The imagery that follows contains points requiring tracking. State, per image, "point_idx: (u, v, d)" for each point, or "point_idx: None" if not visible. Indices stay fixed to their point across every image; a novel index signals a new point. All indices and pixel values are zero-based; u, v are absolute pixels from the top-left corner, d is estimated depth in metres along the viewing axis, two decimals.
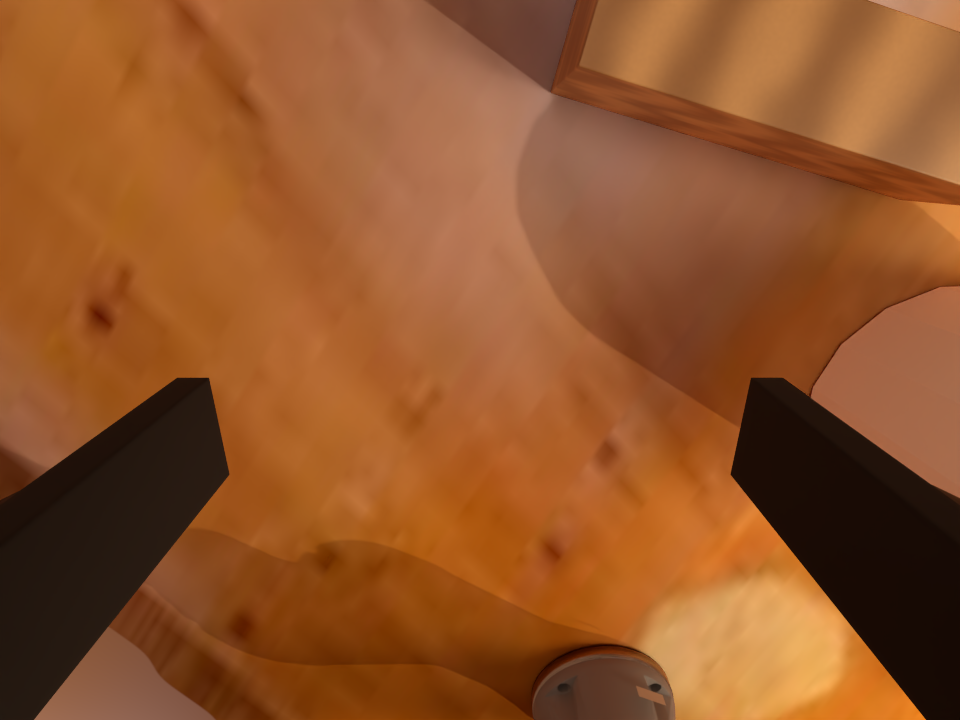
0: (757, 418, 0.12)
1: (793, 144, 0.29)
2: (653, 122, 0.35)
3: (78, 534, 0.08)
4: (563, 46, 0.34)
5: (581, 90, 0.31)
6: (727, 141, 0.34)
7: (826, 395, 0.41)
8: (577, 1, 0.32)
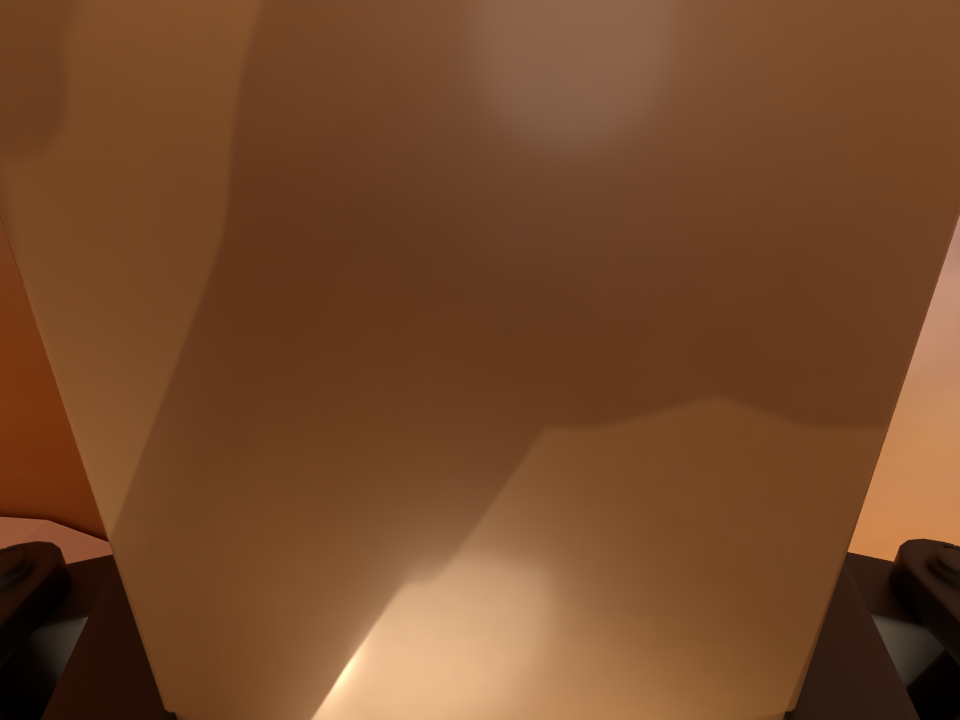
0: None
1: None
2: None
3: None
4: None
5: None
6: None
7: None
8: None
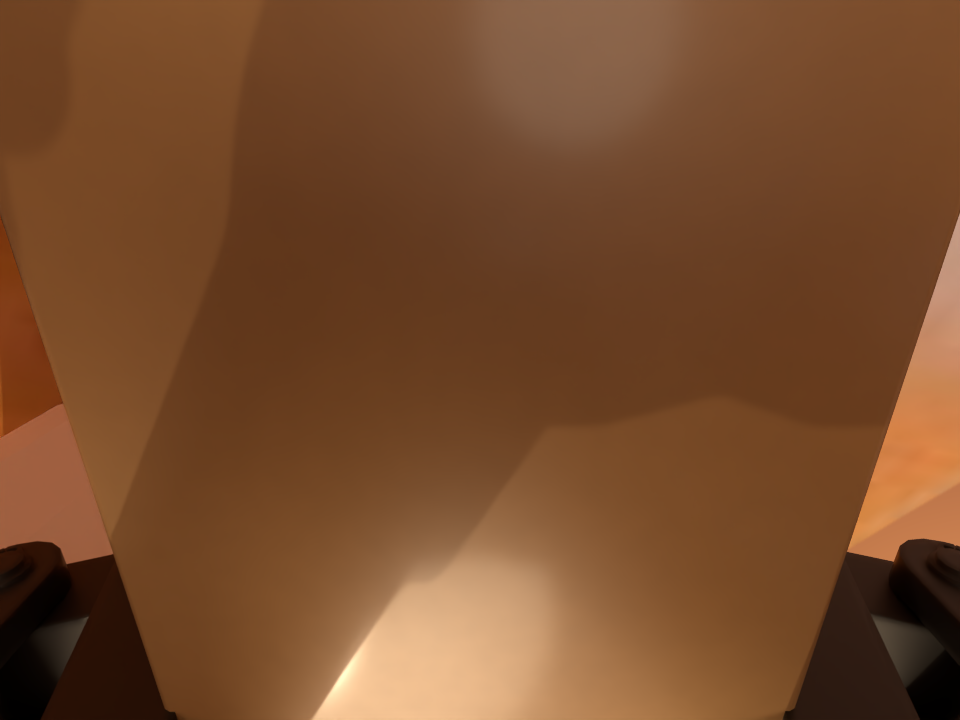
0: None
1: None
2: None
3: None
4: None
5: None
6: None
7: None
8: None
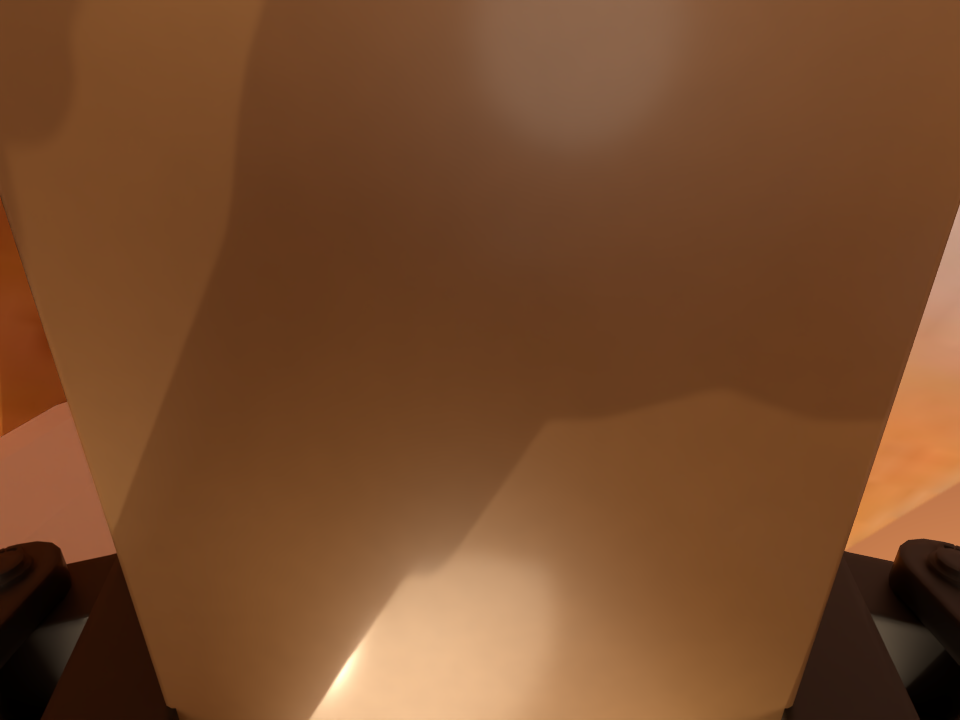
0: None
1: None
2: None
3: None
4: None
5: None
6: None
7: None
8: None
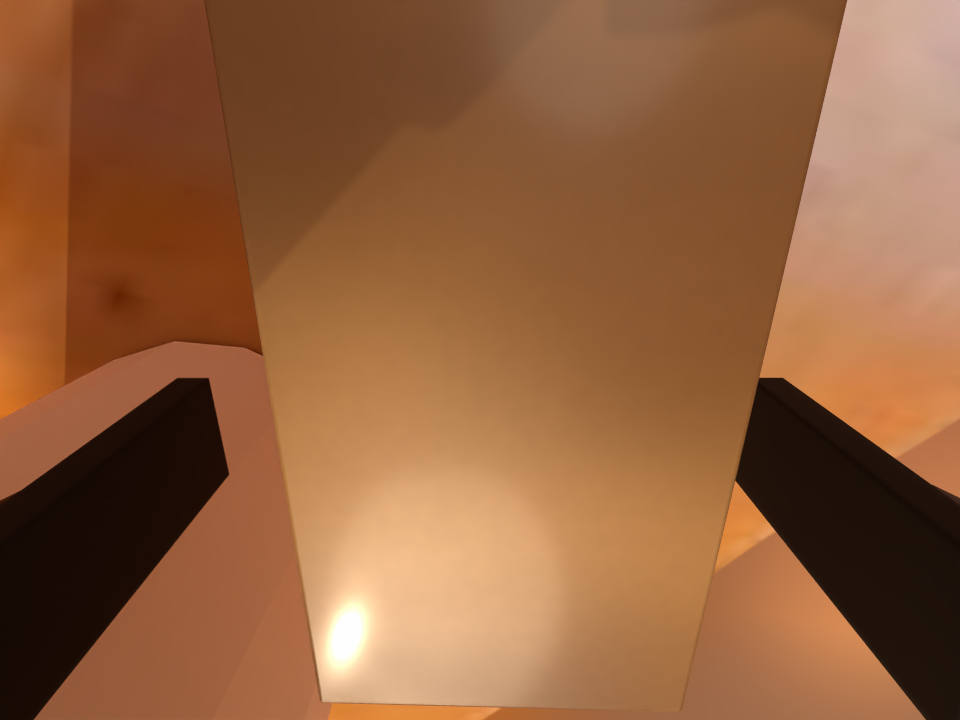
0: (757, 418, 0.12)
1: None
2: None
3: (78, 534, 0.08)
4: None
5: None
6: None
7: (156, 351, 0.28)
8: None
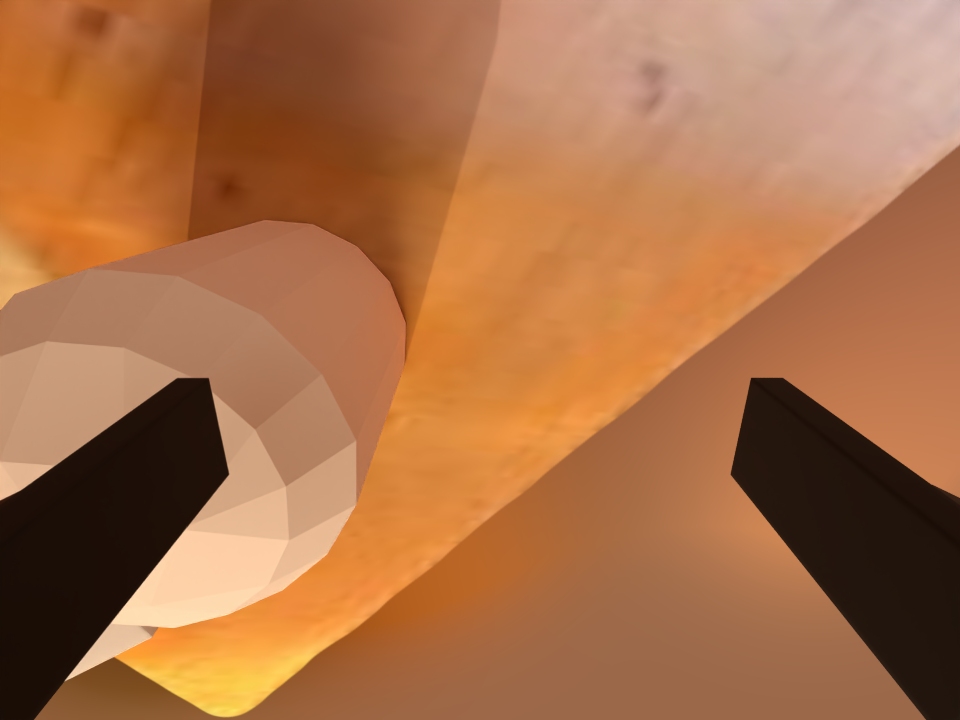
0: (757, 418, 0.12)
1: None
2: None
3: (78, 534, 0.08)
4: None
5: None
6: None
7: (256, 222, 0.42)
8: None
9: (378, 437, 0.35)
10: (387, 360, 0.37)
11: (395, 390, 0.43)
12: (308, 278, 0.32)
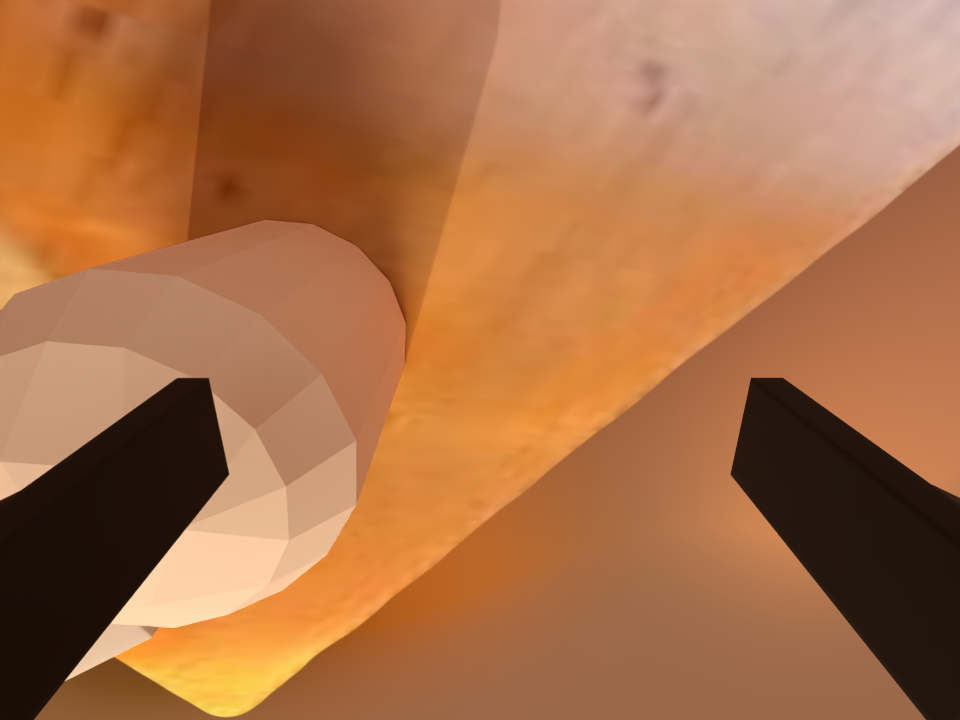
0: (757, 418, 0.12)
1: None
2: None
3: (78, 534, 0.08)
4: None
5: None
6: None
7: (256, 222, 0.42)
8: None
9: (378, 437, 0.35)
10: (387, 360, 0.37)
11: (395, 390, 0.43)
12: (308, 278, 0.32)
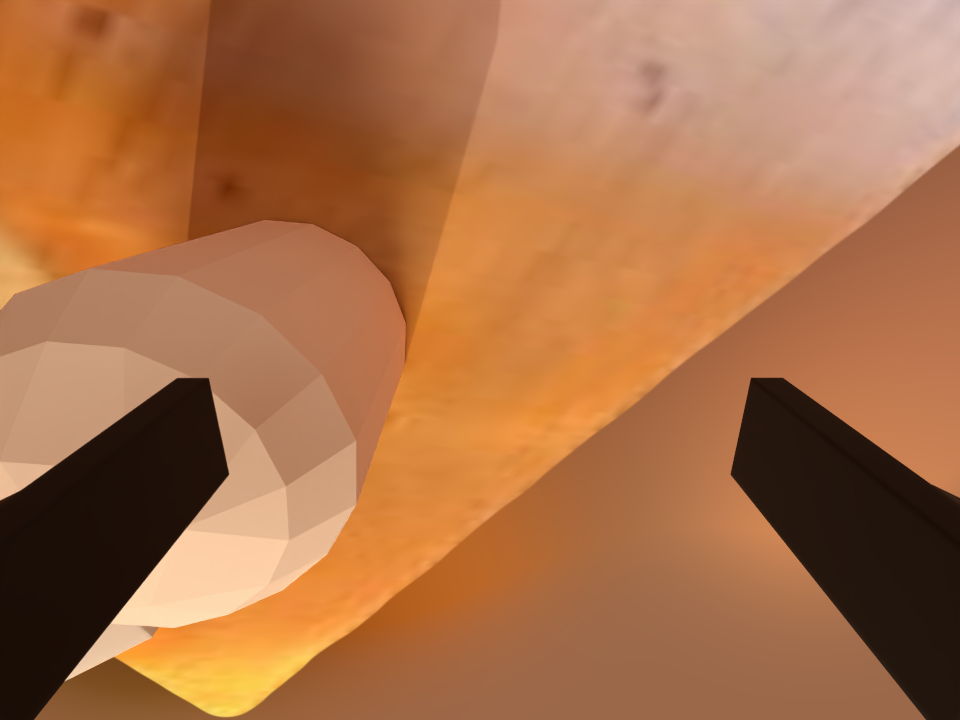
0: (757, 418, 0.12)
1: None
2: None
3: (78, 534, 0.08)
4: None
5: None
6: None
7: (256, 222, 0.42)
8: None
9: (378, 437, 0.35)
10: (387, 360, 0.37)
11: (395, 390, 0.43)
12: (308, 278, 0.32)
